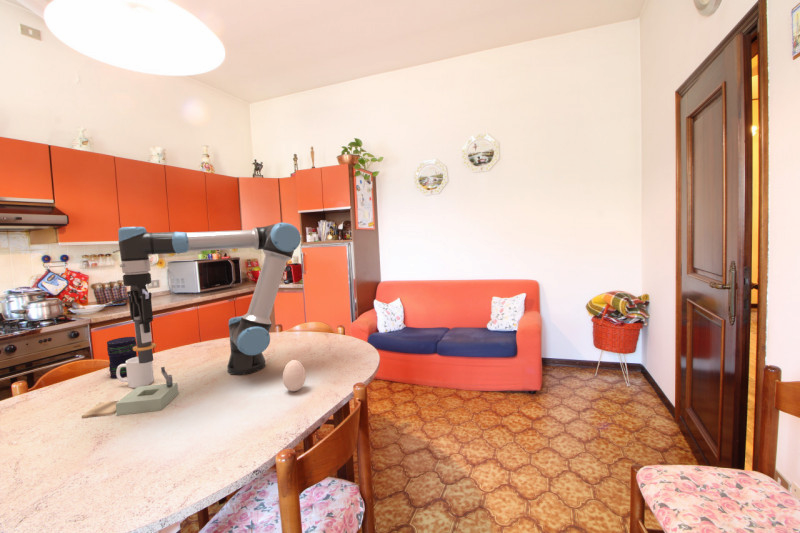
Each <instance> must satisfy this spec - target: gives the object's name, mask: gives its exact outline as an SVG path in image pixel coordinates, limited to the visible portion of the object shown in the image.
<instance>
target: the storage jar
mask: <svg viewBox="0 0 800 533" xmlns="http://www.w3.org/2000/svg"><path fill="white" fill-rule="evenodd" d="M106 346H107V349H106V350H107V355H108V359H109V365H108V366H109V374H110V375H109V376H110V378H111V379H115V380H118V378H117V375H116V370H117V367H118V366H119V365H121V364H126V361H127V360H128V359H131V358H134V357H138V351H133V347H135V346H137V341H136V336H125V337H118V338H114V339H111V340H108V341H107V342H106ZM120 376H121V378H123V379H125V378H127V370H126V367H121V369H120Z"/></svg>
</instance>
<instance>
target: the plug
mask: <svg viewBox="0 0 800 533" xmlns="http://www.w3.org/2000/svg"><path fill="white" fill-rule="evenodd" d="M134 321H135V325H134V332H135V331H136V334H135V337H136V340H137V341H136V343H137V346H135V347H133V351H136V352H137V357H138V358H139V363H148V362H151V361H152V362H153V361H154V355H153V349H155V348H156V347H157V343H155V342H153V341H150V342H146V343H142V340H141V331H140V325H139V323H141V320H140V316H137V317H134ZM134 321H133V322H134Z"/></svg>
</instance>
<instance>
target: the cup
mask: <svg viewBox="0 0 800 533" xmlns="http://www.w3.org/2000/svg"><path fill="white" fill-rule="evenodd" d="M153 366H154V365H153V361H151V362H148V363H139V358H138V356H137V357H134V358H131V359H128V360H127V361H126V364H121V365H119V366H118V367H117V370H116V375H117V378H118V379H117V380H119V381H120V382H122V383H123V382H124V383H127V386H128V387H129V388H132V389H135V388H137V387H140V386H150V385H152V384H153V383H154V380H155V375H154V367H153ZM121 367H126V370H127V377H126V378H121V376H120V369H121Z"/></svg>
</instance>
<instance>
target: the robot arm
mask: <svg viewBox="0 0 800 533" xmlns="http://www.w3.org/2000/svg"><path fill="white" fill-rule="evenodd" d="M117 232H118V234H117V235H118V236H117V237H118V247H119V254H120V255H119V256H120V264H119V267H120V268H121V272H122V274H123V275H122V281H123V286H125V287H130V290H127V291H126V295H127V298H128V305H129V314H130V319H131V320H132V321H133V323H134V324H133V325H134V326H135V321H134V317H137V316H140V320H141V323H139V325H140V331H141V340H142V343H146V342H150V341H151V342H153V337H152V328H151V322H153V321H154V315H153V314H154V313H153V306H152V295H153V294H152V292H151V291H150V292H149V290H148V289H147V285H149V284H152V273H150V271H151V263H150V257H149V256H151V255H167V254H168V255H169V254H170V255H173V254H185V253H188V252H189V253H190V252H201V251H202V252H203V251H205V252H206V251H221V250H235V249H251V248H253V249H254V250H256V251H258V250H262V252H263V254H264V260H263V263H262V266H261V269H260V272H259V275H258V279H257V282H256V284H255V288H254V290H253V294H252V297H251V301H250V304H249V306H248V310H247V312H246V313H245V314H243V315H241V316H234V317H230V319H229V320H228V333H229V346H230V355H229V360H228V362H227V366H226V367H227V368H226V370H227V372H228V374H230V375H235V376H236V375H237V376H239V375H240V376H241V375H248V374H252V373H256V372H258V371H261V370H263V369H264V368H265V367H266V359H265V357H264V354H263V352H265V351H266V350H267V349H268V347H269V345H270V342H271V335H270V331H271V327H272V325H273V324H272V321H271V319H270V317H271V314H272V312H273V309H274V308H273V307H274V304H275V301H276V298H277V294H278V292H279V288H280V285H281V281H282V278H283V276H284V272H285V268H286V265H287V262H289V261H291V260H292V258H293V254H294V252H295V251H296V249H298V247H299V246H300V245H301V241H302V240H301V238H302V237H301V233H300V231H299V229H298V228H297V227H296V226H295V225H293V224H291V223H288V222H278V223H274V224H270V225H266V226H261V227H259V226H257V227H253V228H252V229H245V230H244V229H243V230H242V229H241V230H219V231H217V230H216V231H194V232H193V231H192V232H190V231H189V232H184V231H164V232H163V231H161V232H159V231H158V232H147V229H146V227H144V226H122V227H119V228H118V230H117ZM134 332H135V335H136V331H135V330H134ZM136 342H137V340H136Z"/></svg>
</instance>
